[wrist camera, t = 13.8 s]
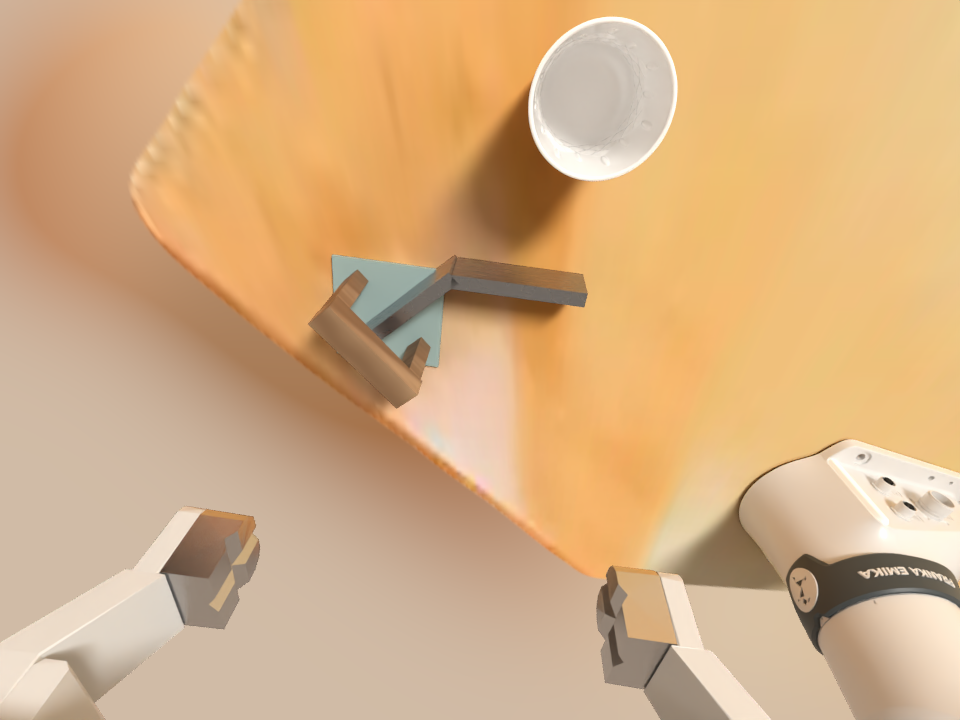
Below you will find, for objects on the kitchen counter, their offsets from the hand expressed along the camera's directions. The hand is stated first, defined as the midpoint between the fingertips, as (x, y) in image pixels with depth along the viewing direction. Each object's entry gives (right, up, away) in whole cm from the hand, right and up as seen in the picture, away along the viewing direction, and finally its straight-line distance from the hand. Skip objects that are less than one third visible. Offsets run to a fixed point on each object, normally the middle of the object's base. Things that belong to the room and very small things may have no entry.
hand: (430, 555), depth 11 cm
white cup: (+9, +24, +24) cm, 35 cm away
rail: (0, +10, +33) cm, 34 cm away
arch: (-7, +9, +34) cm, 36 cm away
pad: (-7, +9, +34) cm, 36 cm away
